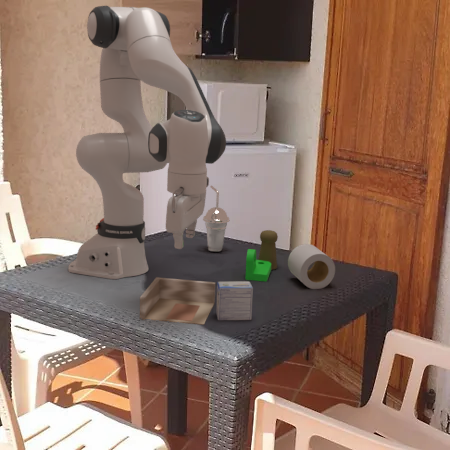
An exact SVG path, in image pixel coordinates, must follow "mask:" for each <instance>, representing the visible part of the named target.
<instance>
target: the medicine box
mask: <svg viewBox="0 0 450 450" xmlns="http://www.w3.org/2000/svg"><path fill="white" fill-rule="evenodd" d="M216 284H217V285H216V286H217V288H216V310H215V312H216V313H215V314H216V318H217V320H218V321H251V320H252V313H253V312H252V310H253V291H254V287H253V286H252V284H251V282H250V280H246V281H245V280H243V281H238V280H237V281H236V280H235V281H234V280H233V281H217V283H216Z"/></svg>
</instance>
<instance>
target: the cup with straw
mask: <svg viewBox="0 0 450 450" xmlns="http://www.w3.org/2000/svg"><path fill="white" fill-rule="evenodd" d="M210 188H211V189H212V190H213V191H214V192H215V194H216V200H215V201H216V204H215V206H214V207H211V208H210V209H208V210H207V212H206V214H205V216H203V218H202V221H203V222H205V223H204V224H205V229H206V239H207V247H208V248H207V250H208V251H210V252H221V251H222V250H223V246H224V242H225V236H226V235H225V233H226V229H227V224H228V222H230V217H229V216H228V215H227V212H226V210H224V208H221V207H219V200H220V199H219V198H220V197H219V196H220V192H219V191H218V189H217V188H215V186H213V185H210Z"/></svg>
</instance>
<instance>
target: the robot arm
mask: <svg viewBox="0 0 450 450" xmlns="http://www.w3.org/2000/svg"><path fill="white" fill-rule="evenodd" d="M86 23H87V24H86V29H87V37H88V38H89V39H88V40H89V41H90V42H91V44H93V45H94V46H96V47H98V48H101V55H100V62H99V88H100V89H99V90H100V108H101V110H102V112H103V113H104V115H105V116H106V117H108V118H110V119H111V120H113V121H114V122H115V121H116V122H117V123H119V124H120V125H121V128H122V129H123V132H97V133H92V134H88V135H84V136H83V137H82V138H80V140H79V141H78V144H77V145H76V148H75V149H76V150H75V156H76V161H77V163H78V165H79V166H80V168H81V169H83V170H84V171H85V172H86V173H87V174H89V175H90V176H91V177H92V178H93V180H95V182H96V184H97V185H98V188H99V189H100V192H101V195H102V203H103V205H102V206H103V207H102V208H103V218H101V219H100V220H99V222H97V224H96V225H95V231H96V234H95V235H93V236H92V237H91V238H89V239H88V240H86V241H85V242H84V243H82V244H81V245H80V247H79V248H78V250H77V253H76V259H74V260H73V261H71V262H70V263H69V264H68V269H67V270H68V272H69V273H73V274H80V275H85V276H91V277H96V278H104V279H108V280H110V279H111V280H119V279H122V278H129V277H136V276H141V275H143V274H145V273H147V272H148V271H149V265H148V262H147V258H146V251H145V239H146V222H145V220H144V214H145V213H144V203H145V201H144V199H145V198H144V195H143V193H142V192H141V191H140V189H138V188H137V187H135V186H133V185H131V184H129V183H126V182H125V181H124V178H123V177H124V176H123V174H131V173H133V174H134V173H138V174H139V173H151V172H154V171H160V170H163V169H164V168H165V167H166V166H167V164H168V167H167V184H166V185H167V188H166V190H167V192H168V193H170V194H171V193H172V196H171V197H170V198H168V200H167V203H166V204H167V205H166V216H165V229H166V232H167V233H169V234H172V237H173V240H174V241H173V242H174V248H175V249H176V250H177V249H178V250H182V249H183V248H184V245H185V240H184V233H185V237H186V238H187V239H188V238H189V239H193V238H194V237H195V235H196V227H197V223H198V219H199V218H200V217H201V216H202V215H203V214H204V211H205V207H206V199H207V198H206V197H207V196H206V195H207V188H208V186H209V185H210V184H209V183H210V178H209V177H208V168H207V164H214V163H215V162H217V161H218V160H219V159H220V158H221V156H222V155H223V154H224V152H226V149H227V148H226V147H227V139H226V135H225V132H224V129H223V128H222V127H221V125H220V124H219V122H218V121H217V119H216V117H215V115H214V114H213V112H212V109H211V107H210V104H209V102H208V101H207V98H206V96H205V94H204V92H203V90H202V87H201V85H200V83H199V81H198V79H197V77H196V75H195V73H194V71H193V70H192V69H191V67H189V66H187V65H186V64H185V63H184V61H182V60H181V59H180V57H179V56H178V55H177V54H176V51H175V50H174V47H173V44H172V41H171V38H170V37H171V25H170V21H169V19H168V17H167V15H165V14H164V13H162V12H159V11H157V10H155V9H153V8H151V7H146V6H145V7H136V6H135V7H134V6H109V5H99V6H95V7H94V8H93V9H91V11H90V12H89V14H88V17H87V21H86ZM141 82H142V83H144V84H146V85H149V86H151V87H155V88H158V89H159V90H160V89H162V90H163V91H166V92H168V93H170V94H171V93H172V95H175V96H177V97H178V98H179V99H180V100H181V101H182V102H183V104H184V106H185V108H186V109H179V110H175V111H173V113H171V116H170V118H169V119H167V120H165V121H162V122H157V123H156V124H155V125H154V126H152V125H151V123H150V122H149V119H148V118H147V116H146V113H145V110H144V105H143V98H142V97H143V96H142V84H141ZM184 231H185V232H184Z"/></svg>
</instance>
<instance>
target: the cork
mask: <svg viewBox="0 0 450 450" xmlns="http://www.w3.org/2000/svg"><path fill="white" fill-rule="evenodd" d="M278 237H279V236H278V233H277V232H276V231H274V230H270V229H268V230H262V231H261V232H260V234H259V239H260V241H261V243H260V247H259V249H260V250H259V253H258V258H257V260H262V261H268V262H270V263H271V271H272V270H276V269H277V268H278V262H277V261H278V259H277V247H276V242H277V241H278V239H279V238H278Z"/></svg>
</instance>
